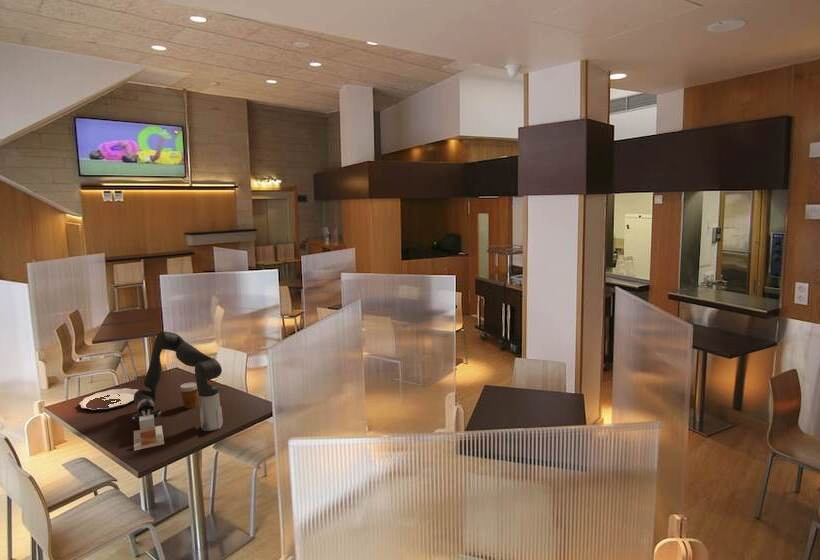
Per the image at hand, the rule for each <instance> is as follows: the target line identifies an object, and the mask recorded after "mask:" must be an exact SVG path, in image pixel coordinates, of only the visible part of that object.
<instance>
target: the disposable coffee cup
mask: <svg viewBox="0 0 820 560" xmlns="http://www.w3.org/2000/svg"><path fill="white" fill-rule="evenodd" d="M179 390H180V392H181V397H182V400H183V405H184V408H185V409H193V407H194V408H196V407H197V406H198V404H199V398H198V389H197V383H196V382H195V381H190V382H189V381H188V382H185V383H182V384H181V385H180V386H179Z"/></svg>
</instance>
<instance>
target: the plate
mask: <svg viewBox="0 0 820 560" xmlns="http://www.w3.org/2000/svg"><path fill="white" fill-rule="evenodd" d="M138 390H139V389H134V388H130V387H128V388H127V387H126V388H117V389H116V388H114V389H109V390H105V391H101V392H100V391H99V392H96V393H94V394H92V395H89V396H87V397H84V398H83V400H81V401H80V402H79V403H78V405H79V406H80V408H81V409H86V410H89V409H90V411H96V410H99V411H107V410H108V409H109V410H114V409H118V408H122V407H124V405H125V406H127V405H129V404H131V403H134V394H135V393H136V392H137V391H138ZM118 394H119V395H120V396H119V395H118ZM107 395H110V396H109V397H104V396H107ZM100 397H104V398H106V399H102V400H104V401H105V400H109V399H120V400H121V401H119V402H117V403H114V404H109V405H108V406H109V408H97V409H91V408H87V407H86V404H87V403H88V402H89V401H90V400H93V399H95V398H100ZM111 402H116V400H115V401H111ZM120 403H121V404H120ZM121 406H122V407H121ZM113 408H114V409H113ZM109 410H108V411H109Z"/></svg>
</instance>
